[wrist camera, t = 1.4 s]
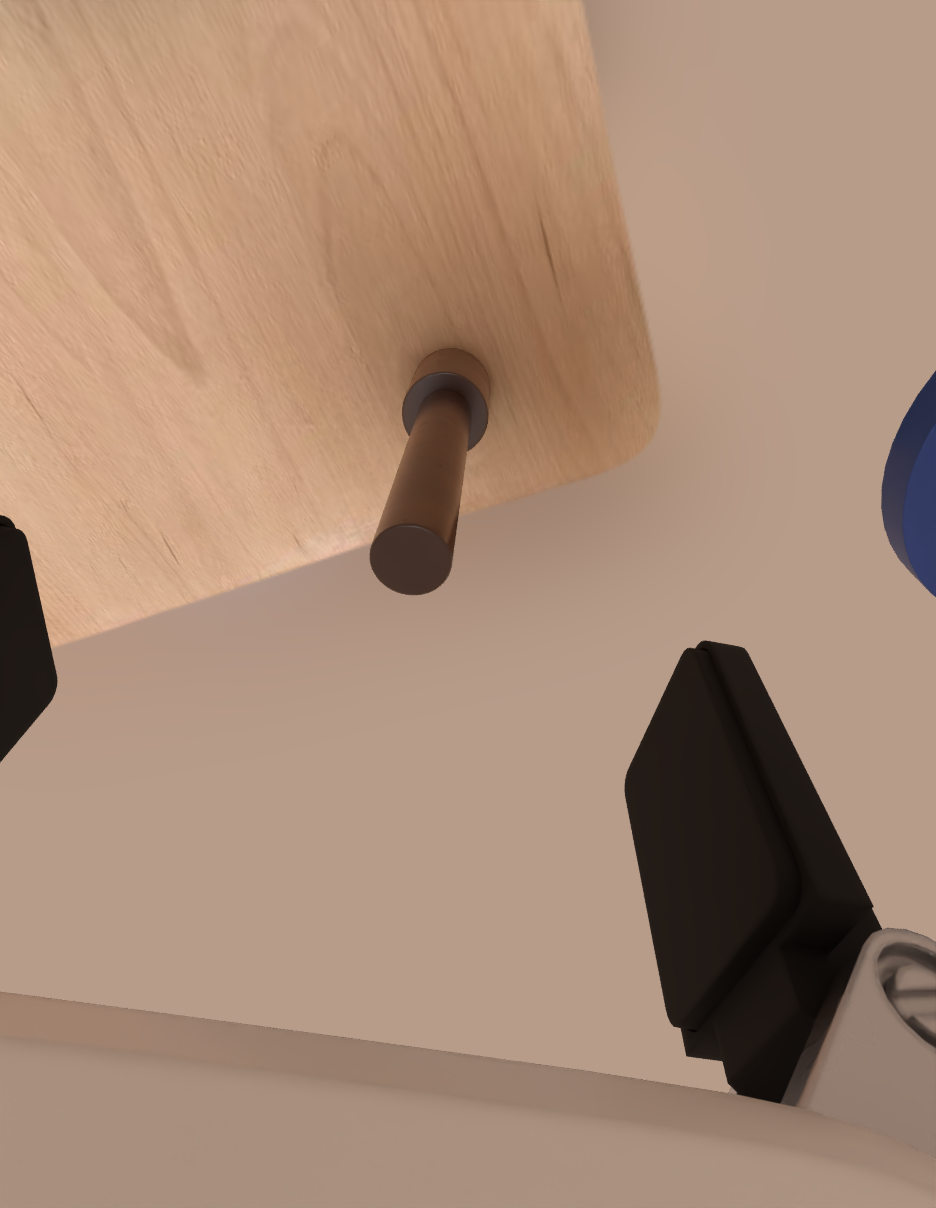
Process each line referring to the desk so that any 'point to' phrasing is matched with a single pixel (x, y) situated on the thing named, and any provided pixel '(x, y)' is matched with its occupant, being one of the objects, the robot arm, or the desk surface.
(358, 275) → the desk surface
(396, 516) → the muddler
